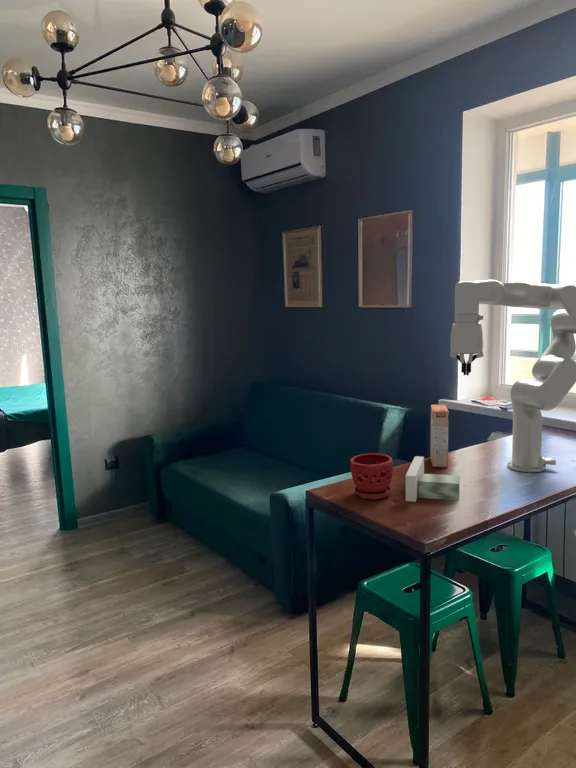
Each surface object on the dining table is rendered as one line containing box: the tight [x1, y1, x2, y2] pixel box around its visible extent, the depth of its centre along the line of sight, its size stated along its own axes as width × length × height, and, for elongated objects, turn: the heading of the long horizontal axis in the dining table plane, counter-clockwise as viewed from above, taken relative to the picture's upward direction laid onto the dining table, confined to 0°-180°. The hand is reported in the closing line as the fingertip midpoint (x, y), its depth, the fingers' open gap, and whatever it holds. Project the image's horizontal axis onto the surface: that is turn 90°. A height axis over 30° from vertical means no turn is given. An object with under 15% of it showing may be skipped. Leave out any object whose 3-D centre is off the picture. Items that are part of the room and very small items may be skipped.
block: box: [418, 473, 461, 501], centre depth 177 cm, size 12×8×6 cm, turn 73°
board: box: [405, 455, 425, 503], centre depth 182 cm, size 3×22×8 cm, turn 160°
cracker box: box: [429, 404, 450, 468], centre depth 211 cm, size 14×6×21 cm, turn 168°
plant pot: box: [349, 452, 394, 500], centre depth 179 cm, size 13×13×12 cm
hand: (466, 374), depth 190 cm, fingers closed
